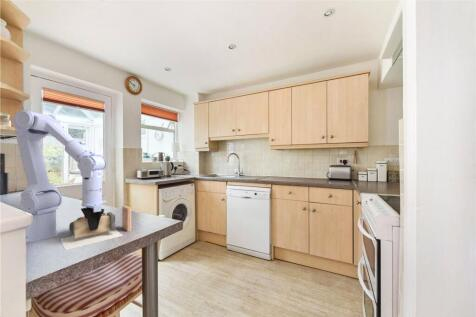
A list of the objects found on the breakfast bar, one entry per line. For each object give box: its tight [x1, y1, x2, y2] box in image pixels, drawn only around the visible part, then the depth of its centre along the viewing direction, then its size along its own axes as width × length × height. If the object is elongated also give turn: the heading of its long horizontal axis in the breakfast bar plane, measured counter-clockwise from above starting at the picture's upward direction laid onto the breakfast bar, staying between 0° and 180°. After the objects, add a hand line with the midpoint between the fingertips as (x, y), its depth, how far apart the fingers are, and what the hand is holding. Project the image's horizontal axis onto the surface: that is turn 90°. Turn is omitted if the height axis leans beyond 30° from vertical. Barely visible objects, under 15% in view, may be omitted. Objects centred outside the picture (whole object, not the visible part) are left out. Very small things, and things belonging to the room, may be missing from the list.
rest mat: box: [59, 228, 124, 251], centre depth 71 cm, size 16×12×1 cm
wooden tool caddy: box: [73, 211, 116, 238], centre depth 72 cm, size 11×6×6 cm, turn 136°
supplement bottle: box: [68, 211, 107, 234], centre depth 79 cm, size 6×6×11 cm
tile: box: [121, 205, 132, 233], centre depth 79 cm, size 1×6×9 cm, turn 46°
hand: (92, 228), depth 71 cm, fingers closed on wooden tool caddy, 3 cm apart
